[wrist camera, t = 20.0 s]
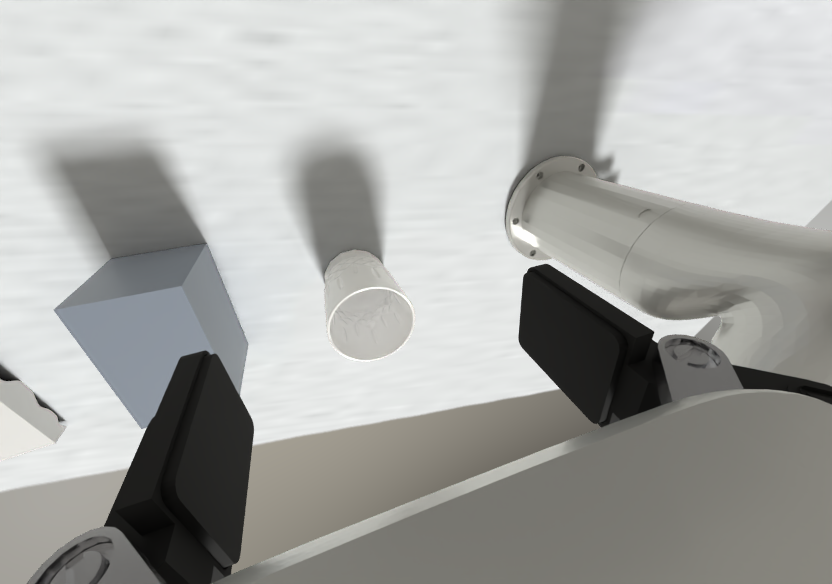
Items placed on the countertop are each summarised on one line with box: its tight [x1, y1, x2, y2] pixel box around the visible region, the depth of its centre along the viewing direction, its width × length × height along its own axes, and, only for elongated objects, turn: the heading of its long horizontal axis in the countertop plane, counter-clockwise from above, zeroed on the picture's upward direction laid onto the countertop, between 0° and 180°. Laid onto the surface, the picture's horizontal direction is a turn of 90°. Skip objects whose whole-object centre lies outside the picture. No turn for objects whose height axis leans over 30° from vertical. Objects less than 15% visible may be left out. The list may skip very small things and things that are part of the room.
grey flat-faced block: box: [54, 243, 248, 429], centre depth 30 cm, size 8×12×9 cm, turn 4°
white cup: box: [324, 249, 415, 361], centre depth 34 cm, size 8×8×10 cm
